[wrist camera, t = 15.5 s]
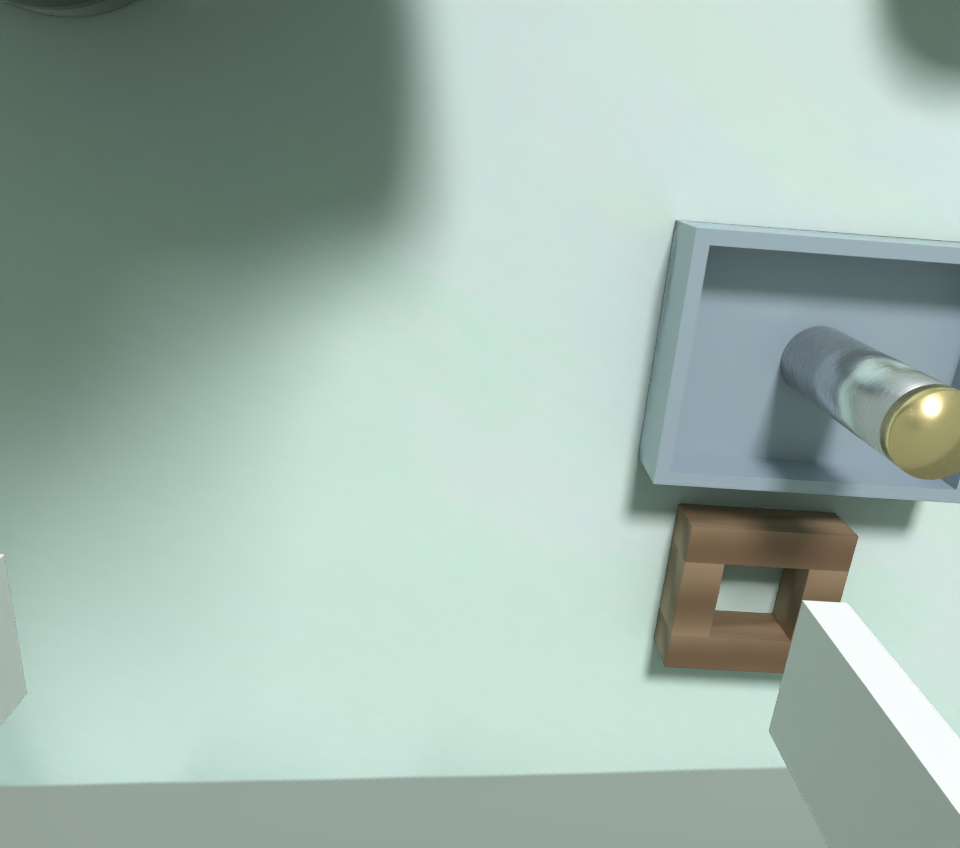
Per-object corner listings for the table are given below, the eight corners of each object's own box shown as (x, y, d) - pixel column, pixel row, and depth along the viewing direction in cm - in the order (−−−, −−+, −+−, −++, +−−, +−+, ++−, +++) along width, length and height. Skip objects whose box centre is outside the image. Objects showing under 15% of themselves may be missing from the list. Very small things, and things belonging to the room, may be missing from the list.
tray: (675, 220, 41) (696, 227, 37) (996, 244, 42) (1047, 254, 38) (638, 456, 46) (653, 483, 42) (925, 474, 47) (965, 503, 43)
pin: (788, 323, 42) (906, 387, 31) (858, 328, 42) (1000, 394, 31) (773, 391, 44) (881, 476, 32) (841, 395, 44) (971, 482, 32)
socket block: (678, 503, 47) (692, 526, 44) (835, 513, 47) (858, 536, 45) (654, 637, 51) (665, 666, 48) (800, 645, 51) (819, 675, 48)
